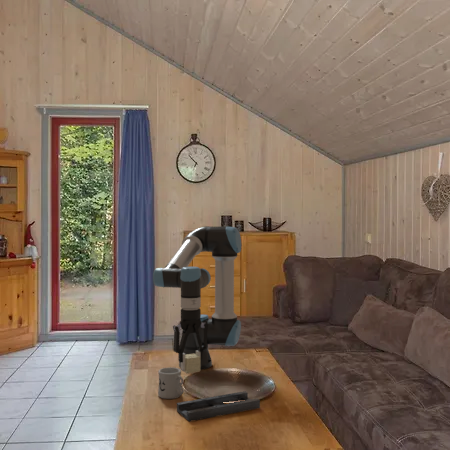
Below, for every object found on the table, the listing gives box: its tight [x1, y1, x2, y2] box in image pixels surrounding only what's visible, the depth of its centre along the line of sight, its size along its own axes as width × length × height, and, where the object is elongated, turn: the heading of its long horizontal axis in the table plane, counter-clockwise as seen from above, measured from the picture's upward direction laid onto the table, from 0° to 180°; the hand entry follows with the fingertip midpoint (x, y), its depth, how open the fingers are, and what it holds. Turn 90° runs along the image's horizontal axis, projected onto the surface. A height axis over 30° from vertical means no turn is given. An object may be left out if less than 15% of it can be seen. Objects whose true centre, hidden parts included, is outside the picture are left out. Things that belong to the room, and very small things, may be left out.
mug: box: [157, 366, 184, 400], centre depth 220 cm, size 12×9×10 cm
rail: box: [176, 390, 261, 422], centre depth 207 cm, size 11×28×3 cm, turn 118°
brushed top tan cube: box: [184, 354, 201, 374], centre depth 213 cm, size 6×6×6 cm
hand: (190, 369), depth 213 cm, fingers closed on brushed top tan cube, 5 cm apart
